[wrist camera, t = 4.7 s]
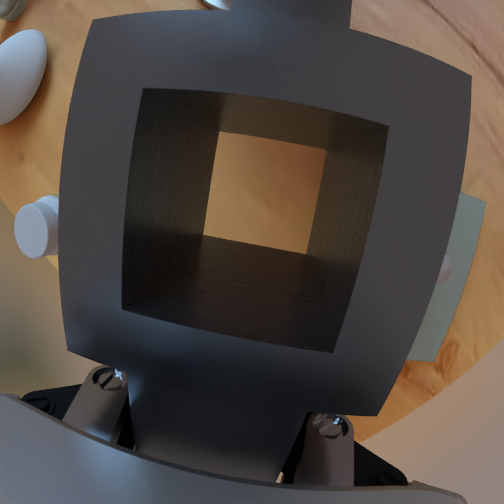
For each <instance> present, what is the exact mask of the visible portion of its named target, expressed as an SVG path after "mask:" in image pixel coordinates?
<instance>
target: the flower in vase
mask: <svg viewBox="0 0 504 504" xmlns="http://www.w3.org/2000/svg"><path fill="white" fill-rule="evenodd" d="M46 62H47V45H46V41H45V38H44V36H43V34H42V33H41V32H39V31H38V30H33V29H31V30H23V31H20V32H18V33H16V34H14V35H13V36H11V37H10V38H8V39H7V40H6V41H4V42H3V43H2V44H1V45H0V125H3V124H6V123H8V122H10V121H12V120H13V119H15V118H16V117H17V116H18V115H19V114H21V113H22V112H23V110H24V109H25V108H26V107H27V106H28V104H29V103H30V101H31V100H32V98H33V97H34V95H35V93H36V91H37V89H38V87H39V85H40V83H41V80H42V77H43V75H44V71H45V68H46Z"/></svg>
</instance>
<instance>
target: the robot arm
mask: <svg viewBox="0 0 504 504" xmlns="http://www.w3.org/2000/svg"><path fill="white" fill-rule="evenodd" d="M202 1H203V2H204V3H205V4H206V5H207V6H209V7H210V8H212V9H213V10H230V11H231V7H232V3H233V0H202ZM281 472H282V473H283V475H282V478H281V482H280V483H274V482H266V481H258V480H251V479H245V478H239V477H233V476H227V475H222V474H217V473H212V472H207V471H203V470H199V469H194V468H190V467H186V466H182V465H179V464H175V463H171V462H168V461H164V460H161V459H158V458H154V457H151V456H148V455H145V454H142V453H139V452H136V448H135V441H134V435H133V427H132V420H131V412H130V403H129V393H128V382H127V372H124V371H121V370H118V369H115V368H112V367H109V366H106V365H100V366H97V367H95V368H94V369H92V370H91V371H90V372H89V374H88V376H87V377H86V379H85V381H84V382H83V384H79V385H73V386H66V387H60V388H54V389H46V390H39V391H33V392H30V393H28V394H26V395H24V397H22V398H19V395H18V394H7V393H2V392H0V504H467V502H466V500H465V498H463V496H462V495H459V494H457V493H454V492H450V491H447V490H444V489H440V488H437V487H433V486H430V485H427V484H424V483H421V482H418V481H415V480H413V481H412V482H411V483H410V482H408V481H407V478H406V477H405V475H404V474H403V473H402V472H401V471H400V470H399V469H397V468H395V467H394V466H392V465H391V464H389V463H388V462H386V461H384V460H383V459H381V458H380V457H378V456H377V455H375V454H374V453H372V452H371V451H369V450H368V449H366V448H365V447H363V446H362V445H360V444H359V443H357V442H356V441H354V429H353V425H352V423H351V422H350V420H349V419H348V418H347V417H346V416H345V415H338V414H325V413H315V412H307V414H306V417H305V419H304V421H303V424H302V426H301V428H300V431H299V433H298V435H297V438H296V440H295V442H294V444H293V447H292V449H291V451H290V453H289V455H288V457H287V459H286V462H285V464H284V466H283V468H282V470H281Z"/></svg>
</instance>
